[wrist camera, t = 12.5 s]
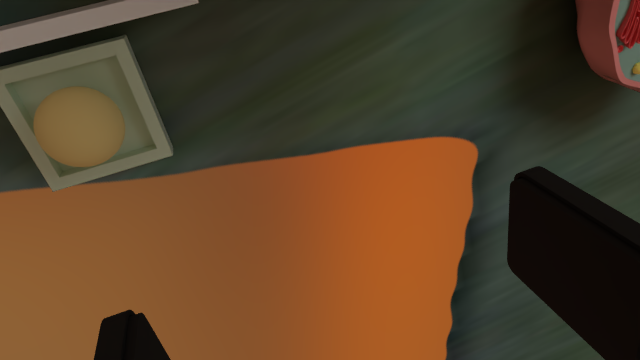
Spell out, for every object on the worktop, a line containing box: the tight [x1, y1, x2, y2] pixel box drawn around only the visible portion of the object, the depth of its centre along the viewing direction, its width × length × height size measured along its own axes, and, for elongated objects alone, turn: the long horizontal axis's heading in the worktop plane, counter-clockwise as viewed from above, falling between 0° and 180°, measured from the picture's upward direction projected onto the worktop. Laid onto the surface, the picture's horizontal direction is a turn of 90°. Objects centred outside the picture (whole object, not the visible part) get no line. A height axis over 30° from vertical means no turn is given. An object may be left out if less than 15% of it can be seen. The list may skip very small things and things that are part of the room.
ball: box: [33, 86, 125, 167], centre depth 32 cm, size 6×6×6 cm
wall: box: [0, 0, 199, 53], centre depth 30 cm, size 20×1×5 cm, turn 102°
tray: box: [0, 35, 173, 192], centre depth 35 cm, size 10×10×2 cm
